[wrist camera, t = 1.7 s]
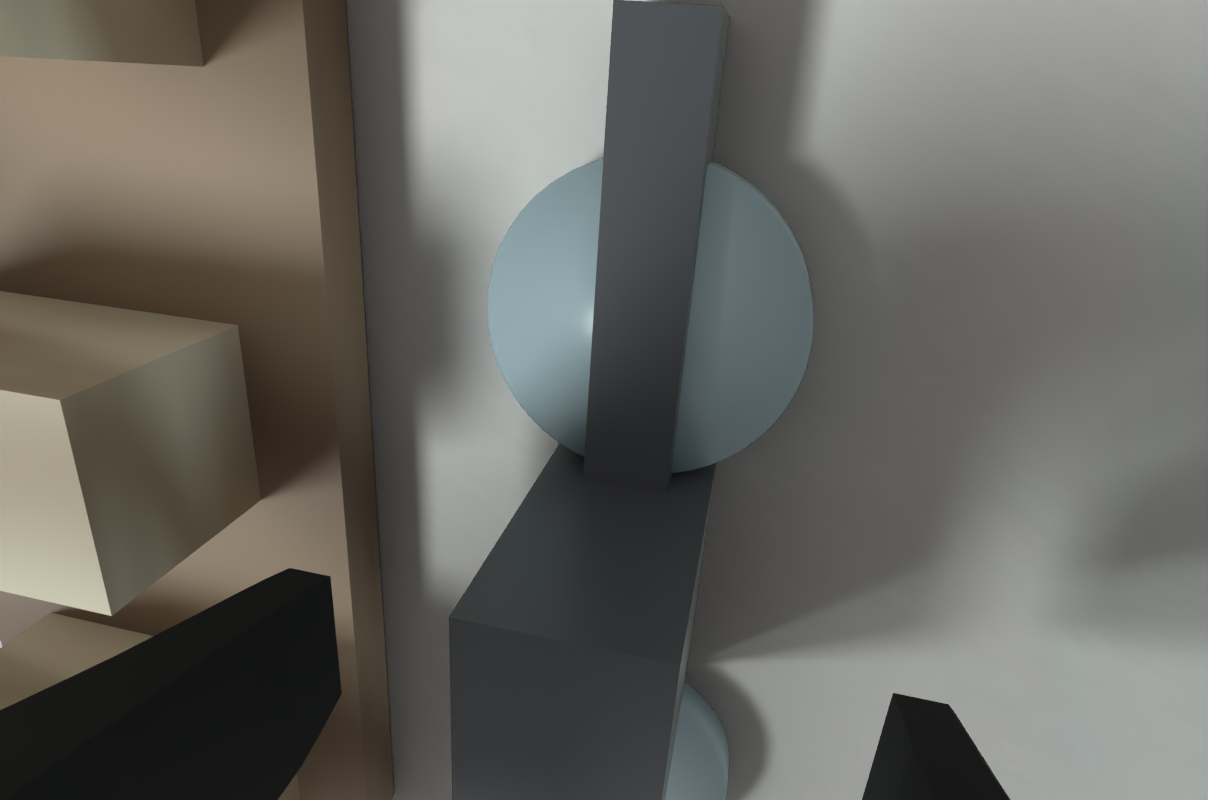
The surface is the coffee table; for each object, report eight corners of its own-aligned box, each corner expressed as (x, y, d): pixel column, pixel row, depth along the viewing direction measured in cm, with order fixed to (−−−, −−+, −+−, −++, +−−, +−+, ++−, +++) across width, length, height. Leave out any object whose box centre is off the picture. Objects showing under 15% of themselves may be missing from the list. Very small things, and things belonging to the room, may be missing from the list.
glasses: (703, 904, 15) (674, 1204, 11) (497, 850, 16) (399, 1112, 12) (865, 24, 9) (940, -38, 5) (510, 4, 10) (309, -64, 5)
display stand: (394, 794, 16) (279, 1001, 12) (73, 712, 17) (-116, 876, 14) (327, -296, 9) (3, -577, 5) (-209, -285, 10) (-764, -498, 6)
